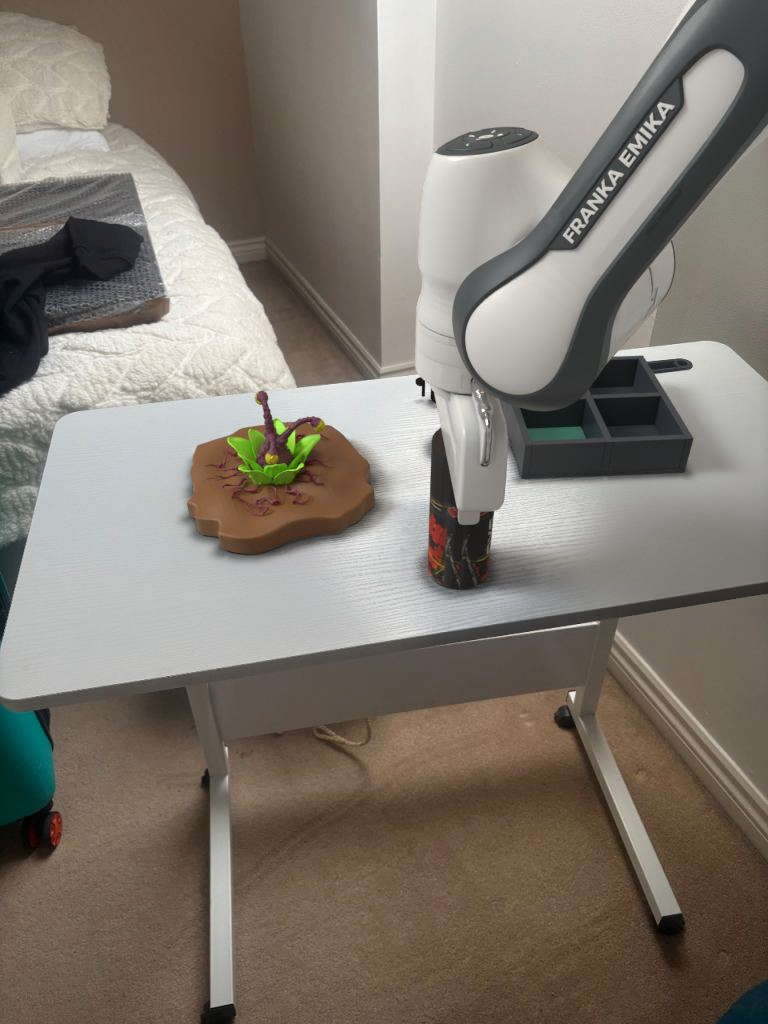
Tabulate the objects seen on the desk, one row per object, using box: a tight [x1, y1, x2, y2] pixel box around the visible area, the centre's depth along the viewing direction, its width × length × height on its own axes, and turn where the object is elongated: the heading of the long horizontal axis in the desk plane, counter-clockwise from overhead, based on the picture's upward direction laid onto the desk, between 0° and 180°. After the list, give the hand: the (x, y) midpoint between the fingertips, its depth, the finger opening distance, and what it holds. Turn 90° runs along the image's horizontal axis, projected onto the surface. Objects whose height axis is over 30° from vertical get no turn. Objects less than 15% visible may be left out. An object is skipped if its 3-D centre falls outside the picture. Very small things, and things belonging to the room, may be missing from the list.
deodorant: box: [426, 427, 495, 591], centre depth 76 cm, size 6×6×15 cm
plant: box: [186, 390, 376, 555], centre depth 87 cm, size 20×20×11 cm
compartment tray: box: [499, 355, 694, 480], centre depth 98 cm, size 18×18×5 cm
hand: (460, 485), depth 75 cm, fingers open, 8 cm apart
